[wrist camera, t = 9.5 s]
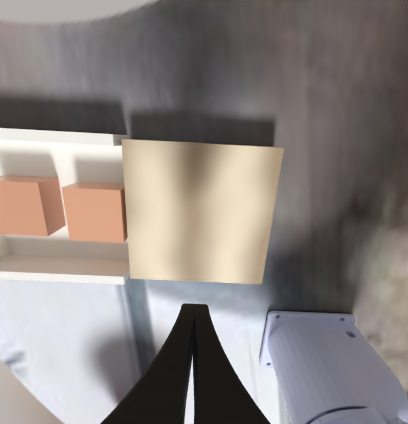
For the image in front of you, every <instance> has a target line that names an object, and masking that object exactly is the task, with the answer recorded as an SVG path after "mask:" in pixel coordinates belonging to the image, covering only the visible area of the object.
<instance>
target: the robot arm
mask: <svg viewBox="0 0 408 424" xmlns="http://www.w3.org/2000/svg"><path fill="white" fill-rule="evenodd" d="M277 315H279V316H277ZM354 322H355V317H354V316H353V315H352V314H337V313H313V312H289V311H270V312H269V313H268V317H267V323H266V328H265V334H264V339H263V345H262V350H261V356H260V365H261V366H262V367H274V370H275V373H276V377H277V380H278V383H279V387H280V390H281V393H282V396H283V400H284V403H285V406H286V409H287V413H288V416H289V419H290V422H291V424H408V397H407V395H406V393H405V391H404V389H403V387H402V385H401V384H400V382H399V380H398V379H397V377H396V376H395V375H394V373H393V372H392V371H391V370H390V368H389V367H388V366H387V365H386V364H385V362H384V361H383V360H382V359H381V357H380V356H379V355H378V354H377V352H376V351H375V350H374V349H373V347H372V346H371V345H370V344H369V343H368V341H367V340H366V339H365V338H364V336H363V335H362V334H361V333H360V331H359V330H358V329H357V328H356V327H355V325H354ZM192 355H193V379H194V424H270V422H269V421H268V420H267V418H266V417H265V416H264V414H263V413H262V412H261V410H260V409H259V408H258V406H257V405H256V404H255V402H254V401H253V399H252V398H251V396H250V395H249V393H248V392H247V390H246V389H245V387H244V386H243V384H242V383H241V381H240V379H239V378H238V376H237V374H236V373H235V371H234V369H233V367H232V366H231V364H230V362H229V360H228V358H227V356H226V354H225V352H224V350H223V348H222V346H221V344H220V341H219V339H218V336H217V334H216V332H215V329H214V326H213V323H212V320H211V317H210V313H209V309H208V306H207V305H206V304H183V305H182V307H181V310H180V313H179V315H178V318H177V320H176V322H175V324H174V326H173V328H172V330H171V332H170V334H169V336H168V338H167V340H166V341H165V343H164V345H163V346H162V348H161V350H160V351H159V353H158V354H157V356H156V357H155V359H154V360H153V362H152V363H151V365H150V366H149V368H148V369H147V370H146V372H145V373H144V374H143V376H142V377H141V378H140V380H139V381H138V382H137V383H136V385H135V386H134V387H133V388H132V390H131V391H130V392H129V393H128V394H127V395H126V397H125V398H124V399H123V400H122V401H121V402H120V403H119V405H118V406H117V407H116V408H115V409H114V410H113V411H112V412H111V413H110V414H109V415H108V416H107V417H106V418H105V419H104V420H103V422H102V423H101V424H184V418H185V407H186V399H187V391H188V384H189V377H190V369H191V362H192Z"/></svg>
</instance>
